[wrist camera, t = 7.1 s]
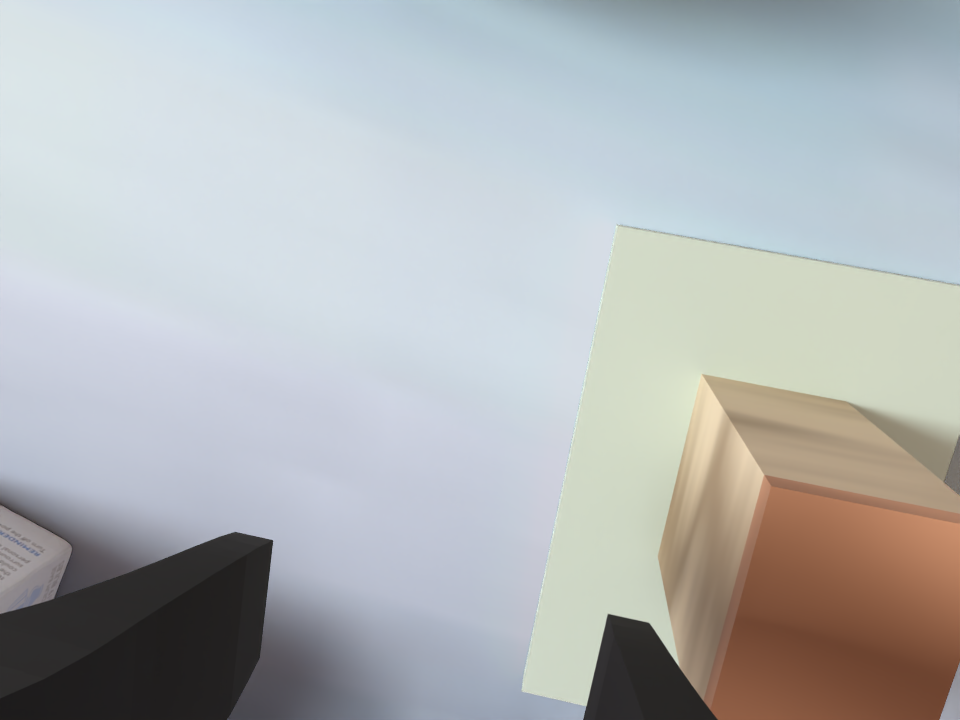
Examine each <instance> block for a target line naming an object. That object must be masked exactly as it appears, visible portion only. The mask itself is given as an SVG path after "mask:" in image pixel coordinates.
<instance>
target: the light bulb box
mask: <svg viewBox="0 0 960 720" xmlns="http://www.w3.org/2000/svg"><path fill="white" fill-rule="evenodd" d="M71 552H72V547H71V545H70V544H69V543H68V542H67V541H65V540H64V539H62V538H60V537H58V536H57V535H55V534H53V533H51V532H50V531H48V530H46V529H44V528H42V527H40V526H38V525H37V524H35V523H33V522H31V521H29V520H28V519H26V518H24V517H22V516H20V515H18V514H16V513H14V512H12V511H10V510H9V509H7V508H5V507H4V506H2V505H0V614H1V613H5V612H9V611H13V610H17V609H21V608H24V607H28V606H32V605H35V604H38V603H42V602H45V601H49V600H52V599H54V597H55V594H56V592H57V589H58V587H59V584H60V582H61V579H62V576H63V574H64V571H65V569H66V566H67V564H68V561H69V558H70V555H71Z"/></svg>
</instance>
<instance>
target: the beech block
mask: <svg viewBox="0 0 960 720" xmlns="http://www.w3.org/2000/svg"><path fill="white" fill-rule="evenodd" d="M658 561H659V566H660V571H661V576H662V581H663V586H664V591H665V596H666V601H667V606H668V611H669V616H670V621H671V626H672V631H673V636H674V641H675V646H676V652H677V657H678V662H679V667H680V669H681V670H682V672H683V673H684V675H685V676H686V677H687V679H688V680H689V682H690V683H691V685H692V686H693V687H694V689H695V690H696V691H697V693H698V694H699V696H700V697H701V698H702V700H703V701H704V702H705V704H706V705H707V706H708V708H709V709H710V710H711V712H712V713H713V714H714V715H715V717H716V718H717V719H718V720H939V719H940V716H941V713H942V710H943V708H944V705H945V702H946V699H947V696H948V693H949V690H950V688H951V685H952V682H953V679H954V676H955V673H956V671H957V668H958V665H959V662H960V495H958V494H957V493H956V492H955V491H954V490H952V489H951V488H950V487H949V486H948V485H946V484H945V483H944V482H943V481H942V480H940V479H939V478H938V477H937V476H936V475H934V474H933V473H932V472H931V471H929V470H928V469H927V468H926V467H925V466H923V465H922V464H921V463H920V462H919V461H917V460H916V459H915V458H914V457H913V456H911V455H910V454H909V453H908V452H907V451H905V450H904V449H903V448H902V447H900V446H899V445H898V444H897V443H896V442H894V441H893V440H892V439H891V438H890V437H888V436H887V435H886V434H885V433H884V432H882V431H881V430H880V429H879V428H878V427H876V426H875V425H874V424H873V423H872V422H870V421H869V420H868V419H867V418H865V417H864V416H863V415H862V414H861V413H859V412H858V411H857V410H856V409H855V408H853V407H852V406H851V405H850V404H849V403H847V402H846V401H841V400H836V399H831V398H826V397H820V396H815V395H810V394H805V393H799V392H794V391H789V390H784V389H778V388H773V387H768V386H762V385H757V384H752V383H747V382H741V381H736V380H731V379H726V378H720V377H715V376H710V375H704V374H701V378H700V382H699V387H698V391H697V395H696V399H695V403H694V407H693V412H692V416H691V420H690V424H689V428H688V432H687V436H686V441H685V445H684V449H683V453H682V457H681V461H680V466H679V470H678V474H677V478H676V482H675V486H674V490H673V495H672V499H671V503H670V507H669V511H668V515H667V520H666V524H665V528H664V532H663V536H662V540H661V544H660V549H659V553H658Z"/></svg>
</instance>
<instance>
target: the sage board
mask: <svg viewBox="0 0 960 720" xmlns="http://www.w3.org/2000/svg"><path fill="white" fill-rule="evenodd" d="M701 374H704V375H710V376H715V377H720V378H726V379H731V380H736V381H741V382H747V383H752V384H757V385H762V386H768V387H773V388H778V389H784V390H789V391H794V392H799V393H805V394H810V395H815V396H820V397H826V398H831V399H836V400H841V401H846V402H847V403H849V404H850V405H851V406H852V407H853V408H855V409H856V410H857V411H858V412H859V413H861V414H862V415H863V416H864V417H865V418H867V419H868V420H869V421H870V422H872V423H873V424H874V425H875V426H876V427H878V428H879V429H880V430H881V431H882V432H884V433H885V434H886V435H887V436H888V437H890V438H891V439H892V440H893V441H894V442H896V443H897V444H898V445H899V446H900V447H902V448H903V449H904V450H905V451H907V452H908V453H909V454H910V455H911V456H913V457H914V458H915V459H916V460H917V461H919V462H920V463H921V464H922V465H923V466H925V467H926V468H927V469H928V470H929V471H931V472H932V473H933V474H934V475H936V476H937V477H938V478H939V479H940V480H942V481H943V482H944V480H945V477H946V474H947V471H948V468H949V465H950V462H951V459H952V456H953V453H954V450H955V447H956V444H957V441H958V438H959V435H960V285H957V284H951V283H946V282H940V281H934V280H929V279H923V278H917V277H912V276H906V275H900V274H895V273H889V272H883V271H878V270H872V269H866V268H861V267H855V266H849V265H844V264H838V263H832V262H827V261H821V260H815V259H810V258H804V257H798V256H793V255H787V254H781V253H776V252H770V251H764V250H759V249H753V248H747V247H742V246H736V245H730V244H725V243H719V242H713V241H708V240H702V239H696V238H691V237H685V236H679V235H674V234H668V233H662V232H657V231H651V230H645V229H640V228H634V227H628V226H623V225H617V224H616V229H615V234H614V239H613V244H612V248H611V253H610V258H609V263H608V268H607V273H606V277H605V282H604V287H603V292H602V297H601V302H600V307H599V311H598V316H597V321H596V326H595V331H594V336H593V340H592V345H591V350H590V355H589V360H588V365H587V370H586V374H585V379H584V384H583V389H582V394H581V399H580V404H579V408H578V413H577V418H576V423H575V428H574V433H573V437H572V442H571V447H570V452H569V457H568V462H567V467H566V471H565V476H564V481H563V486H562V491H561V496H560V501H559V505H558V510H557V515H556V520H555V525H554V530H553V534H552V539H551V544H550V549H549V554H548V559H547V564H546V568H545V573H544V578H543V583H542V588H541V593H540V597H539V602H538V607H537V612H536V617H535V622H534V627H533V631H532V636H531V641H530V646H529V651H528V656H527V661H526V665H525V670H524V676H523V684H522V692H526V693H531V694H535V695H539V696H544V697H548V698H552V699H557V700H561V701H565V702H570V703H574V704H579V705H583V706H587V702H588V698H589V693H590V689H591V685H592V680H593V676H594V672H595V667H596V663H597V659H598V654H599V650H600V645H601V641H602V637H603V632H604V628H605V624H606V619H607V615H608V614H611V615H616V616H621V617H625V618H630V619H634V620H639V621H643V622H648V623H650V625H651V626H652V627H653V629H654V630H655V632H656V633H657V635H658V636H659V638H660V639H661V641H662V642H663V644H664V645H665V647H666V648H667V650H668V651H669V653H670V654H671V656H672V657H673V659H674V660H675V662H676V663H677V664H678V666H679V662H678V657H677V652H676V646H675V641H674V636H673V631H672V626H671V621H670V616H669V611H668V606H667V601H666V596H665V591H664V586H663V581H662V576H661V571H660V566H659V561H658V553H659V549H660V544H661V540H662V536H663V532H664V528H665V524H666V520H667V515H668V511H669V507H670V503H671V499H672V495H673V490H674V486H675V482H676V478H677V474H678V470H679V466H680V461H681V457H682V453H683V449H684V445H685V441H686V436H687V432H688V428H689V424H690V420H691V416H692V412H693V407H694V403H695V399H696V395H697V391H698V387H699V382H700V378H701Z"/></svg>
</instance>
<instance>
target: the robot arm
mask: <svg viewBox="0 0 960 720" xmlns="http://www.w3.org/2000/svg"><path fill="white" fill-rule="evenodd" d="M272 546H273V540H269V539H265V538H260V537H256V536H251V535H246V534H242V533H237V532H234V533H231V534H227V535H224V536H221V537H218V538H215V539H213V540H210V541H207V542H205V543H202V544H200V545H197V546H195V547H192V548H190V549H187V550H185V551H182V552H180V553H178V554H175V555H173V556H170V557H168V558H165V559H163V560H160V561H158V562H155V563H152V564H150V565H147V566H145V567H142V568H140V569H137V570H135V571H132V572H130V573H127V574H124V575H122V576H119V577H116V578H113V579H110V580H107V581H105V582H102V583H99V584H96V585H93V586H90V587H87V588H85V589H82V590H79V591H76V592H73V593H70V594H68V595H65V596H62V597H58V598H55V599H52V600H49V601H45V602H42V603H38V604H35V605H32V606H28V607H24V608H21V609H17V610H13V611H9V612H5V613H1V614H0V720H227V718H228V717H229V715H230V714H231V712H232V710H233V708H234V706H235V704H236V703H237V701H238V699H239V697H240V695H241V693H242V691H243V689H244V688H245V686H246V684H247V682H248V680H249V678H250V676H251V674H252V672H253V670H254V668H255V666H256V664H257V662H258V660H259V658H260V650H261V641H262V633H263V624H264V615H265V607H266V598H267V589H268V581H269V572H270V563H271V555H272ZM583 720H718V719H717V718H716V717H715V715H714V714H713V713H712V712H711V710H710V709H709V708H708V706H707V705H706V704H705V702H704V701H703V700H702V698H701V697H700V696H699V694H698V693H697V691H696V690H695V689H694V687H693V686H692V685H691V683H690V682H689V680H688V679H687V677H686V676H685V675H684V673H683V672H682V670H681V669H680V667H679V666H678V664H677V663H676V662H675V660H674V659H673V657H672V656H671V654H670V653H669V651H668V650H667V648H666V647H665V645H664V644H663V642H662V641H661V639H660V638H659V636H658V635H657V633H656V632H655V630H654V629H653V627H652V626H651V625H650V623H648V622H643V621H639V620H634V619H630V618H625V617H621V616H616V615H611V614H608V615H607V619H606V624H605V628H604V632H603V637H602V641H601V645H600V650H599V654H598V659H597V663H596V667H595V672H594V676H593V680H592V685H591V689H590V693H589V698H588V702H587V706H586V711H585V715H584V719H583Z"/></svg>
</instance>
